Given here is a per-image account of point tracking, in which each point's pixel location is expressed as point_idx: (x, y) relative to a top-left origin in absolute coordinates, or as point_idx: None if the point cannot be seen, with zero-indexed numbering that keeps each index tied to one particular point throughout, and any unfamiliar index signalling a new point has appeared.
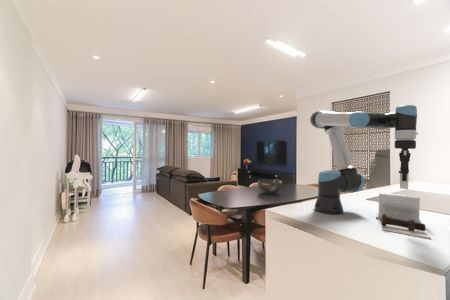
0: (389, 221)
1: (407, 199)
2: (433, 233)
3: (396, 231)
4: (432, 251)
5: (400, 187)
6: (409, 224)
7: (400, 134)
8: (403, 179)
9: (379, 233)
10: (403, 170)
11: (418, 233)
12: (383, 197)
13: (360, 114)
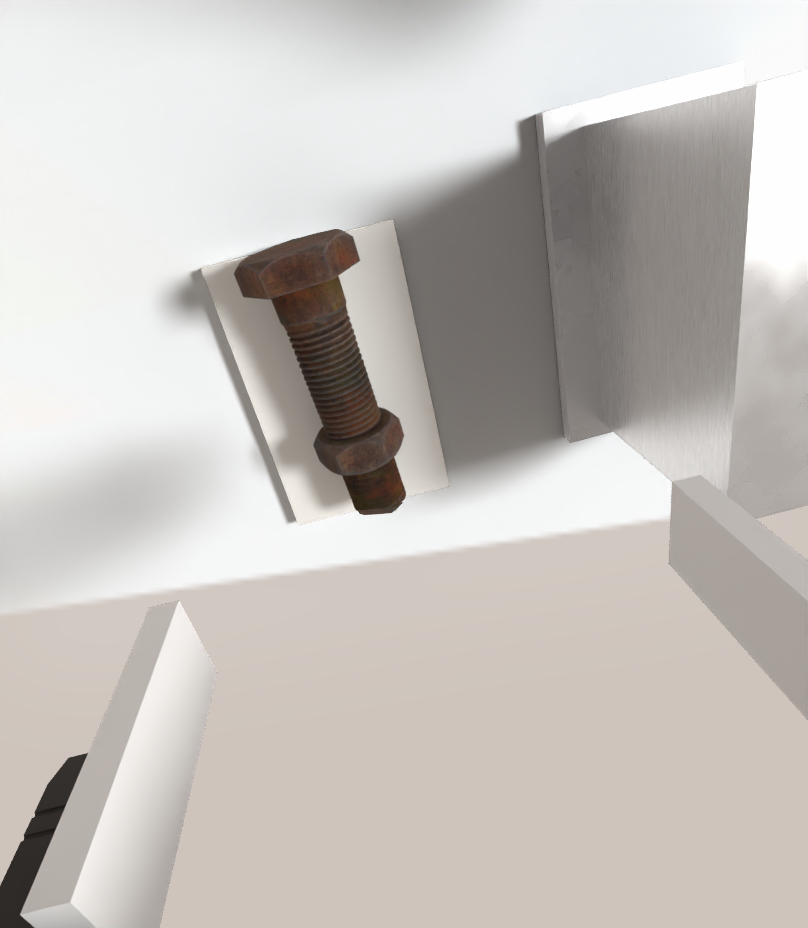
0: (277, 315)
1: (711, 421)
2: (448, 505)
3: (237, 363)
4: (71, 562)
5: (150, 623)
6: (317, 443)
7: None
8: (57, 805)
9: (80, 283)
10: None
11: (315, 469)
12: (716, 159)
13: None
